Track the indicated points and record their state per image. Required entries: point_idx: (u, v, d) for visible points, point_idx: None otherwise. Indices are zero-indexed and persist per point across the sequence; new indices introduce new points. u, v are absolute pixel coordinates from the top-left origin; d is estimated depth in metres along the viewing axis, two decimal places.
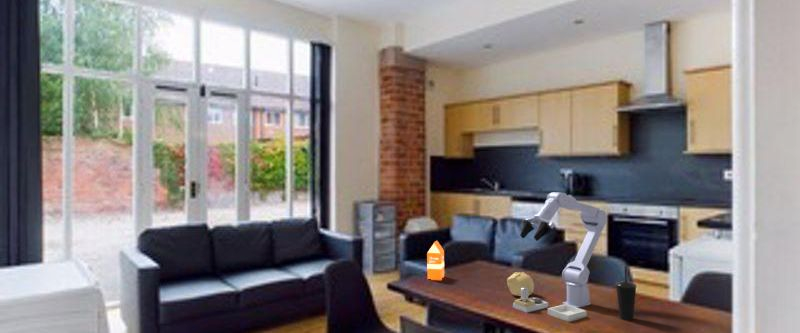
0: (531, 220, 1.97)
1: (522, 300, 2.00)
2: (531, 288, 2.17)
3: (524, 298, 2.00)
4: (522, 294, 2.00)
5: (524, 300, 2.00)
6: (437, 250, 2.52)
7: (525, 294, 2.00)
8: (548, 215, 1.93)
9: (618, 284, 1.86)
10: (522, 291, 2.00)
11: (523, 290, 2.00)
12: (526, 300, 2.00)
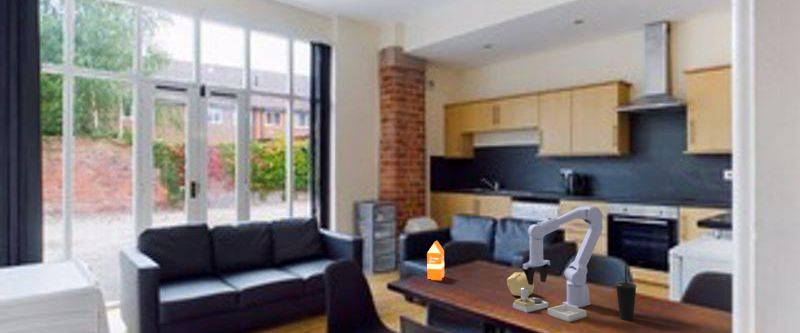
0: None
1: (522, 300, 2.00)
2: (531, 288, 2.17)
3: (524, 298, 2.00)
4: (522, 294, 2.00)
5: (524, 300, 2.00)
6: (437, 250, 2.52)
7: (525, 294, 2.00)
8: (530, 255, 2.04)
9: (618, 284, 1.86)
10: (522, 291, 2.00)
11: (523, 290, 2.00)
12: (526, 300, 2.00)
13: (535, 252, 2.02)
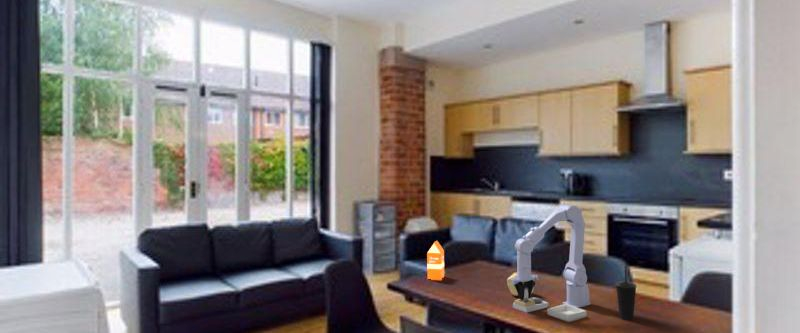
0: None
1: (522, 300, 2.00)
2: None
3: (524, 298, 2.00)
4: None
5: (524, 300, 2.00)
6: (438, 250, 2.52)
7: (525, 294, 2.00)
8: (518, 269, 2.01)
9: (618, 284, 1.86)
10: None
11: None
12: (526, 300, 2.00)
13: (523, 267, 1.98)
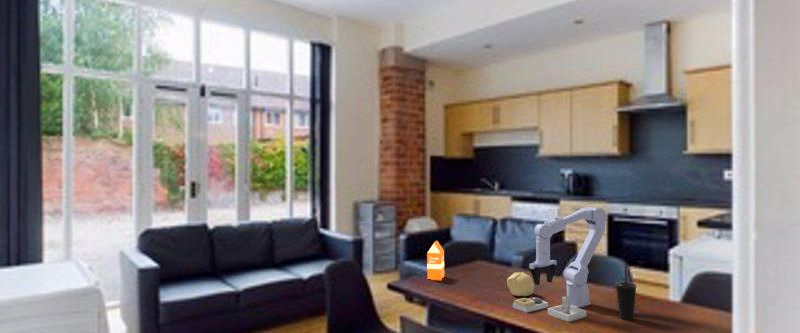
0: None
1: (564, 310, 1.90)
2: (531, 288, 2.17)
3: (567, 308, 1.90)
4: (564, 304, 1.90)
5: (567, 310, 1.90)
6: (437, 250, 2.52)
7: (568, 304, 1.90)
8: (537, 254, 2.02)
9: (618, 284, 1.86)
10: (564, 301, 1.90)
11: (566, 300, 1.90)
12: (569, 310, 1.90)
13: (543, 252, 2.00)
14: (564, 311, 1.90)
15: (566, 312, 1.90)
